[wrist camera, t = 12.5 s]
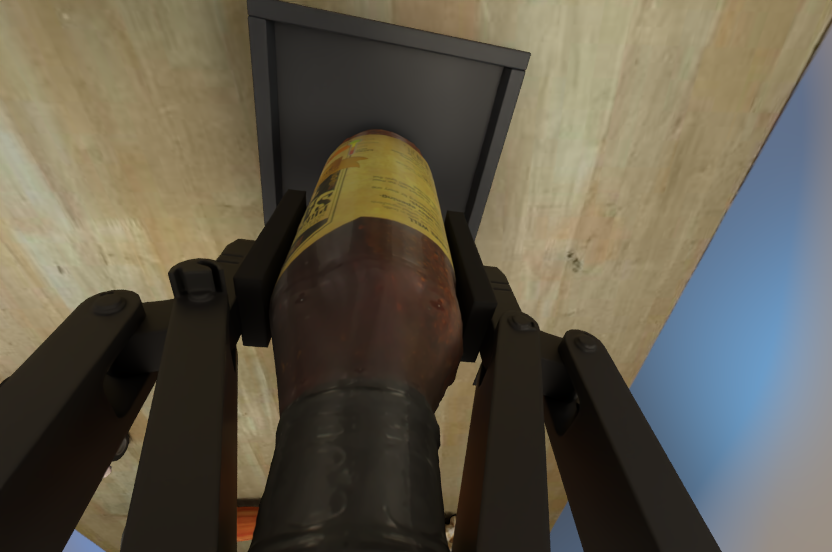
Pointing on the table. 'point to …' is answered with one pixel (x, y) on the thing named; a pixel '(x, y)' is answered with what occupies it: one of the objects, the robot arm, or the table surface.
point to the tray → (377, 99)
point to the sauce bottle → (362, 359)
